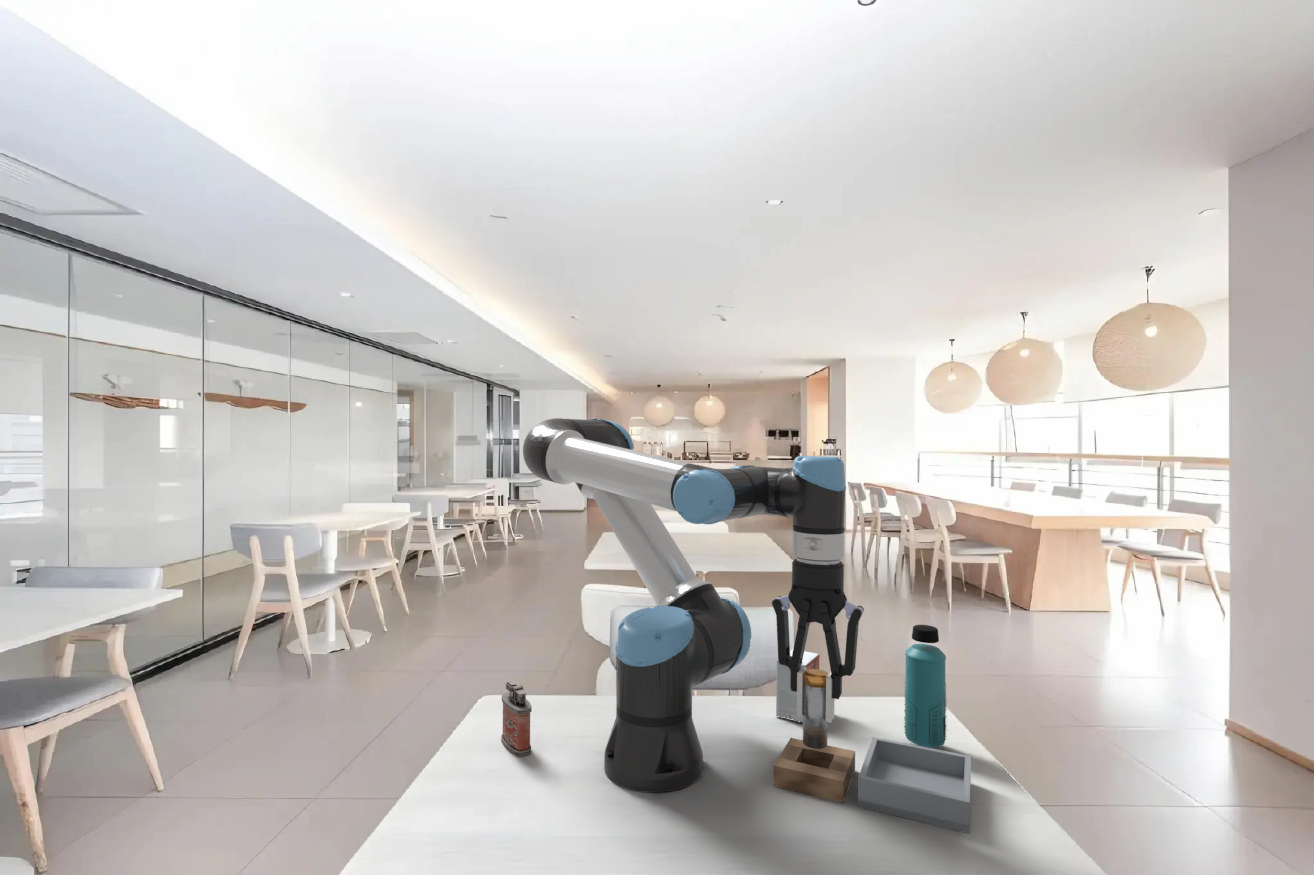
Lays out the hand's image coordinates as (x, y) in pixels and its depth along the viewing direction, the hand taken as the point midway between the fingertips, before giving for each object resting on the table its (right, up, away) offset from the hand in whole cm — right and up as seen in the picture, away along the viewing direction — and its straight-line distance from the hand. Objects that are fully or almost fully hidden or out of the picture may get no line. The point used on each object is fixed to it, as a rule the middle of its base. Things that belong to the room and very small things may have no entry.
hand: (815, 715), depth 101 cm
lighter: (-47, -9, +9) cm, 48 cm away
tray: (+13, -9, -4) cm, 17 cm away
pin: (0, -4, 0) cm, 4 cm away
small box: (+2, -9, +23) cm, 25 cm away
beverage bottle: (+20, -10, +10) cm, 25 cm away
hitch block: (0, -9, 0) cm, 9 cm away
